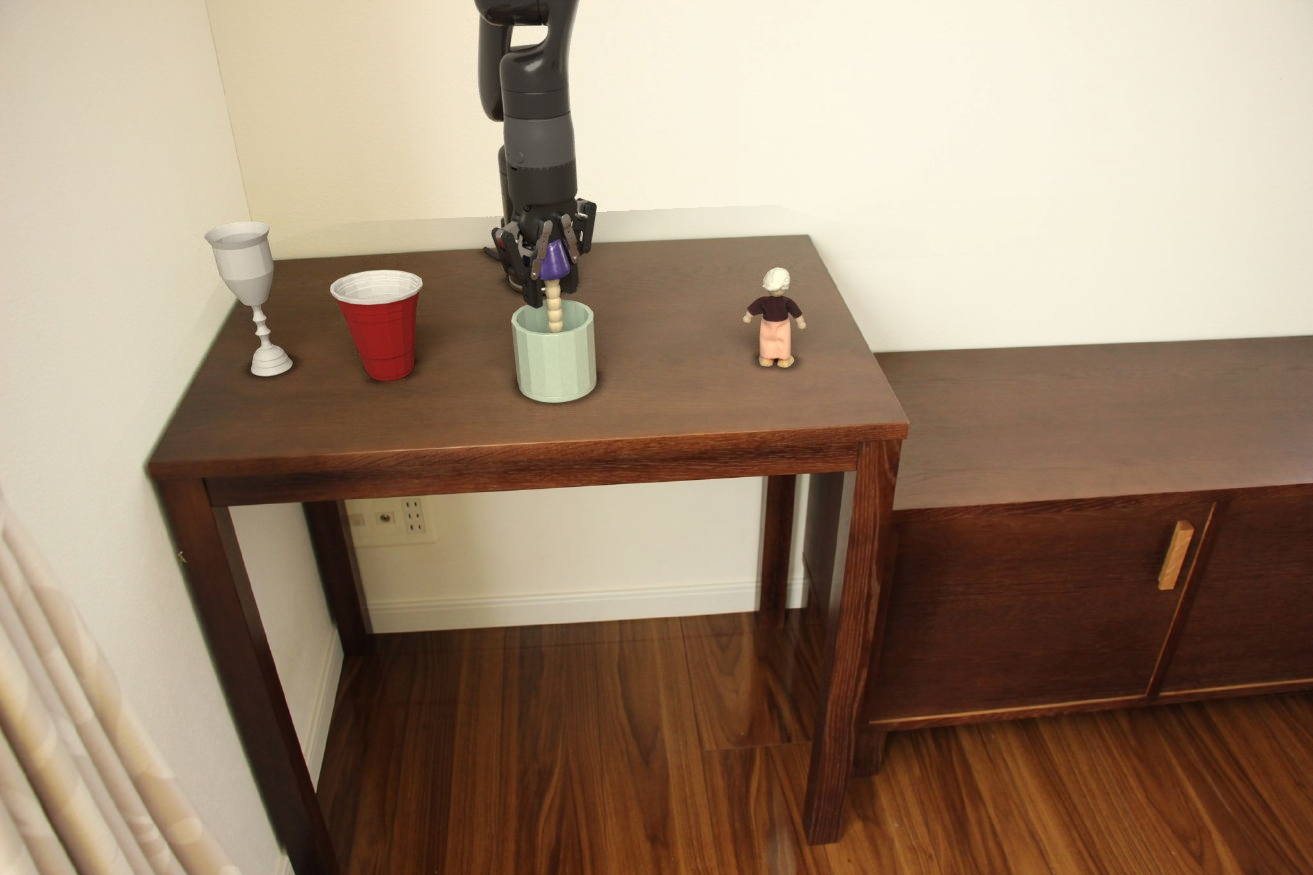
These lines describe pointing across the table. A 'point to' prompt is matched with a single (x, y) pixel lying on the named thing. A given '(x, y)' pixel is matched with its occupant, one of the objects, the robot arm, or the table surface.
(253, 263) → the chalice
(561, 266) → the toy lamp
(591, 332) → the glazed cup
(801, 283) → the table surface
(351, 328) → the plastic cup
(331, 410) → the table surface
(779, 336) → the grandmother figurine
